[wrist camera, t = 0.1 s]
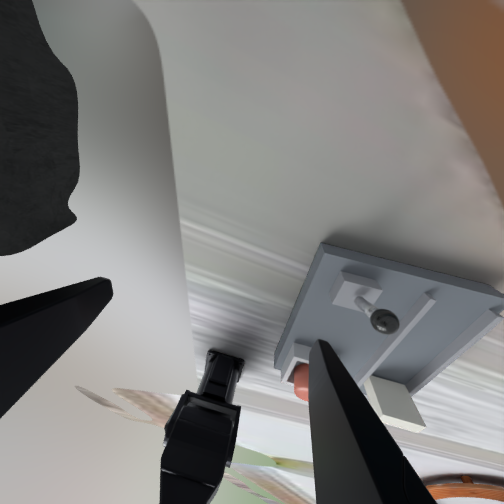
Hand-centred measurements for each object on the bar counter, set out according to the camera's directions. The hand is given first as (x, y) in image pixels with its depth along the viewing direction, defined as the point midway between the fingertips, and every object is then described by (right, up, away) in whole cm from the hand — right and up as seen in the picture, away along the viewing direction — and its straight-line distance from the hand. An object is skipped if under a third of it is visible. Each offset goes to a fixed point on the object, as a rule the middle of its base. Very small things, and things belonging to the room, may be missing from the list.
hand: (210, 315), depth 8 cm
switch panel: (+16, -7, +17) cm, 25 cm away
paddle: (+19, -15, +17) cm, 30 cm away
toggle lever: (+12, -2, +10) cm, 16 cm away
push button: (+9, -13, +17) cm, 24 cm away
